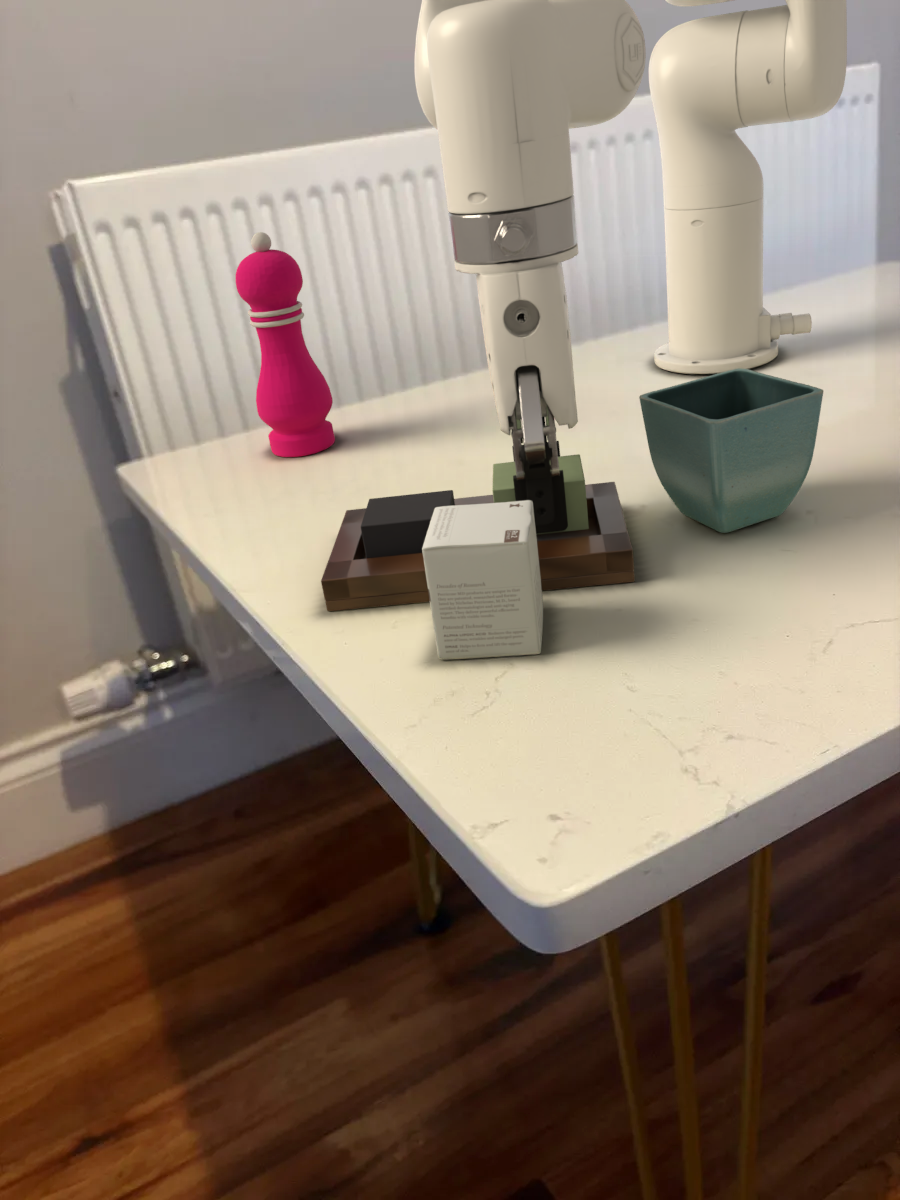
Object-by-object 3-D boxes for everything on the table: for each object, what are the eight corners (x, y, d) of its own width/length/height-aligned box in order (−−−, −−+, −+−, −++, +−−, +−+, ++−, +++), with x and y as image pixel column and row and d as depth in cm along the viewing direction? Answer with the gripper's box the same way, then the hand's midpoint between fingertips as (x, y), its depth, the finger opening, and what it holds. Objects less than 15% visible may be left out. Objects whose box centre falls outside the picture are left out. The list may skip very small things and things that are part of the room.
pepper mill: (327, 457, 96) (283, 234, 87) (255, 461, 98) (205, 243, 89) (349, 432, 102) (310, 221, 93) (281, 436, 104) (236, 230, 95)
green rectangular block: (583, 500, 72) (579, 453, 70) (588, 529, 68) (584, 479, 66) (498, 510, 73) (492, 463, 71) (498, 539, 68) (492, 490, 67)
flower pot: (641, 513, 75) (635, 393, 71) (741, 483, 77) (741, 365, 73) (715, 553, 67) (712, 422, 63) (823, 518, 70) (827, 389, 66)
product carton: (448, 612, 65) (432, 505, 61) (544, 606, 64) (533, 496, 61) (437, 662, 59) (419, 547, 56) (542, 656, 59) (530, 538, 55)
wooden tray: (616, 510, 76) (614, 481, 75) (634, 582, 65) (633, 549, 64) (351, 537, 78) (346, 509, 77) (327, 612, 67) (320, 580, 66)
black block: (459, 534, 74) (452, 489, 72) (456, 564, 69) (449, 517, 68) (377, 543, 74) (368, 498, 73) (369, 573, 70) (360, 526, 68)
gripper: (586, 250, 54) (609, 562, 62) (568, 209, 69) (588, 464, 77) (445, 269, 55) (485, 574, 63) (457, 224, 70) (489, 475, 78)
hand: (542, 511), depth 70 cm, fingers closed on green rectangular block, 5 cm apart
